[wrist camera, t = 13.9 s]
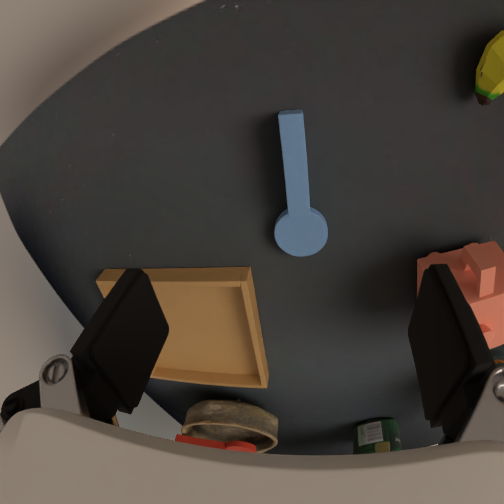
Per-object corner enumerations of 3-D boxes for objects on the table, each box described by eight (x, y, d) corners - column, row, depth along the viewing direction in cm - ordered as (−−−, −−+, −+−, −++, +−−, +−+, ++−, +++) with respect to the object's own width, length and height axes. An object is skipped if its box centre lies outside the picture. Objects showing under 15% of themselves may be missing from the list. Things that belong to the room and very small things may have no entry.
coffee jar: (399, 432, 42) (404, 525, 27) (356, 440, 45) (355, 532, 30) (399, 411, 38) (406, 522, 22) (349, 421, 40) (347, 531, 25)
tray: (155, 365, 38) (150, 377, 36) (104, 268, 29) (95, 280, 27) (269, 374, 35) (267, 388, 33) (250, 266, 26) (246, 281, 24)
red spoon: (181, 440, 37) (178, 452, 36) (174, 430, 35) (170, 442, 34) (257, 451, 36) (255, 463, 34) (255, 442, 33) (253, 455, 32)
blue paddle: (260, 112, 19) (257, 116, 17) (321, 108, 18) (323, 112, 16) (277, 251, 25) (275, 266, 23) (327, 249, 24) (328, 264, 22)
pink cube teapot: (412, 329, 28) (429, 397, 21) (412, 230, 22) (448, 301, 15) (476, 312, 25) (502, 373, 19) (490, 213, 20) (541, 272, 13)
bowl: (268, 379, 35) (257, 453, 27) (294, 432, 44) (288, 485, 36) (172, 380, 39) (151, 441, 31) (218, 431, 48) (207, 479, 40)
